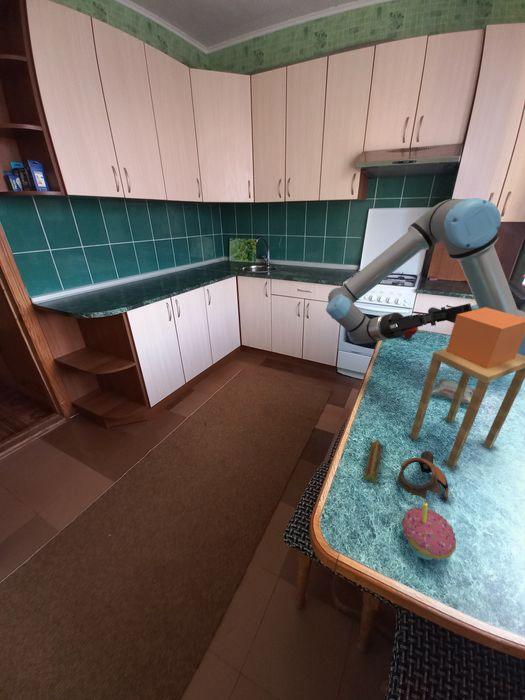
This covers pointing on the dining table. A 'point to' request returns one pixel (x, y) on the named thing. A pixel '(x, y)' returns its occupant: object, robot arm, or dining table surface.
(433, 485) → the rusty ring bracket
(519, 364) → the wooden stool
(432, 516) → the cupcake
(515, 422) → the dining table surface
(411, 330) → the strawberry
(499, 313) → the orange handled block
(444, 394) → the packaged food
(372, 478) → the chocolate bar
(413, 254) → the robot arm
